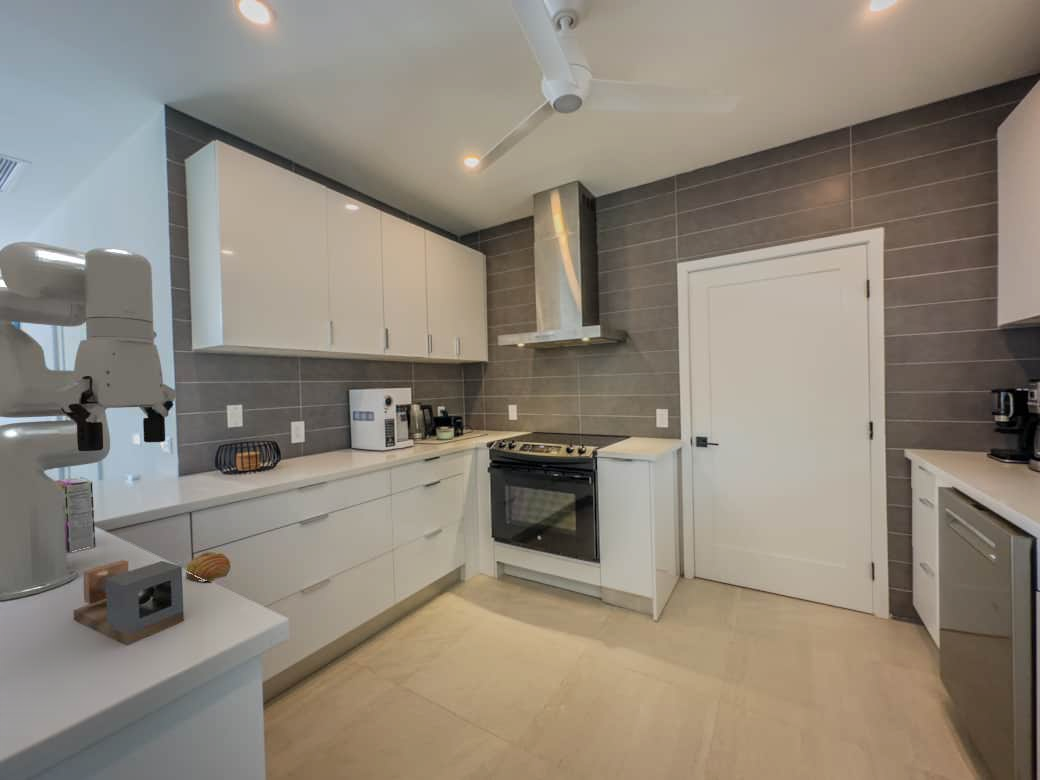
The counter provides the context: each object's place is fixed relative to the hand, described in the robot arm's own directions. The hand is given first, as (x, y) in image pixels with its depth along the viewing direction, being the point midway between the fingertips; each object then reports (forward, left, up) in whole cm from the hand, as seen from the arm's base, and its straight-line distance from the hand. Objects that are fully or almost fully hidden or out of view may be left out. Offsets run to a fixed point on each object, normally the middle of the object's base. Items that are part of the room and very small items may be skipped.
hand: (125, 446), depth 65 cm
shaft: (-6, +1, -25) cm, 26 cm away
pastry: (-11, +17, -28) cm, 35 cm away
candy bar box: (-63, +13, -28) cm, 70 cm away
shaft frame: (-3, +1, -28) cm, 28 cm away
